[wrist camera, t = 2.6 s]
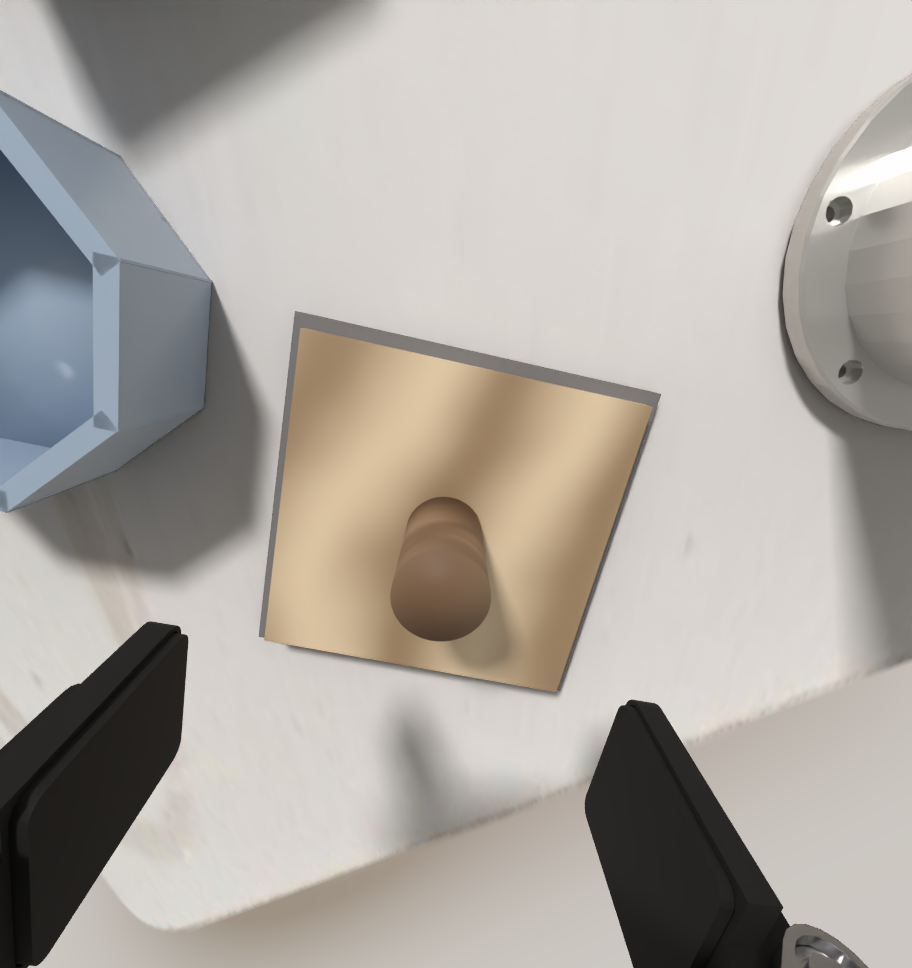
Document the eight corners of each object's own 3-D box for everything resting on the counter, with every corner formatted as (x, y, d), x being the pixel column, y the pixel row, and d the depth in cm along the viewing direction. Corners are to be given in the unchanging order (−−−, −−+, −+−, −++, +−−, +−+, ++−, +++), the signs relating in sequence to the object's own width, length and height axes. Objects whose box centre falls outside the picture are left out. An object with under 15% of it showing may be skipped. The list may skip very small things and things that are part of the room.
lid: (644, 404, 18) (728, 433, 13) (552, 680, 22) (586, 795, 16) (307, 328, 17) (237, 323, 12) (271, 629, 21) (205, 733, 15)
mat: (654, 392, 19) (661, 394, 18) (557, 681, 23) (560, 690, 22) (300, 311, 18) (294, 311, 17) (263, 628, 22) (258, 636, 21)
